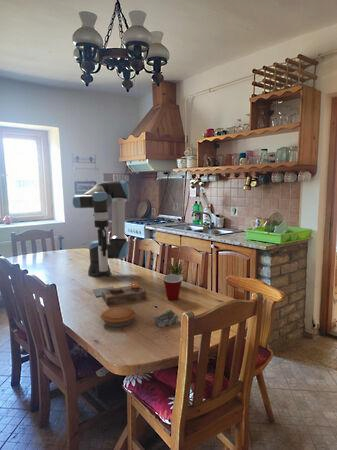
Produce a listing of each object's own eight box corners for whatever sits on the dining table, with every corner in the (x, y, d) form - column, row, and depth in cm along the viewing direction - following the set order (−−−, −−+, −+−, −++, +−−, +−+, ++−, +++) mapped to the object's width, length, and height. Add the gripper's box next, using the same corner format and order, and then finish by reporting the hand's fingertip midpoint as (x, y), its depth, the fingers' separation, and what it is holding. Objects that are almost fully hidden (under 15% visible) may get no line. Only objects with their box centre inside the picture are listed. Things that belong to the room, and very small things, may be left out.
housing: (102, 297, 175) (101, 290, 174) (138, 291, 182) (138, 284, 182) (107, 305, 163) (106, 298, 162) (146, 298, 171) (145, 291, 170)
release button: (130, 293, 176) (130, 283, 175) (138, 292, 178) (137, 282, 177) (132, 295, 172) (132, 286, 171) (140, 294, 174) (140, 285, 173)
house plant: (192, 283, 194) (192, 257, 192) (187, 291, 181) (187, 263, 178) (170, 282, 198) (169, 256, 195) (163, 289, 185) (163, 262, 182)
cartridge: (98, 269, 182) (97, 245, 180) (107, 268, 184) (106, 245, 182) (100, 271, 177) (99, 247, 175) (109, 270, 179) (108, 246, 177)
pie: (136, 313, 152) (136, 303, 151) (134, 328, 137) (134, 317, 136) (104, 314, 152) (104, 304, 151) (98, 330, 136) (97, 319, 136)
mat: (92, 290, 186) (92, 289, 186) (113, 287, 190) (112, 286, 190) (96, 297, 175) (96, 296, 175) (117, 293, 179) (117, 292, 179)
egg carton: (172, 317, 148) (172, 309, 147) (180, 323, 141) (180, 314, 141) (151, 322, 143) (151, 313, 142) (159, 329, 136) (159, 320, 136)
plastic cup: (165, 304, 163) (165, 281, 161) (160, 296, 173) (160, 275, 172) (185, 301, 166) (185, 279, 164) (179, 294, 176) (179, 273, 174)
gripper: (91, 218, 183) (93, 257, 187) (97, 222, 167) (99, 265, 170) (104, 217, 186) (106, 256, 189) (111, 221, 170) (113, 263, 173)
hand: (103, 260), depth 180 cm, fingers closed on cartridge, 5 cm apart
